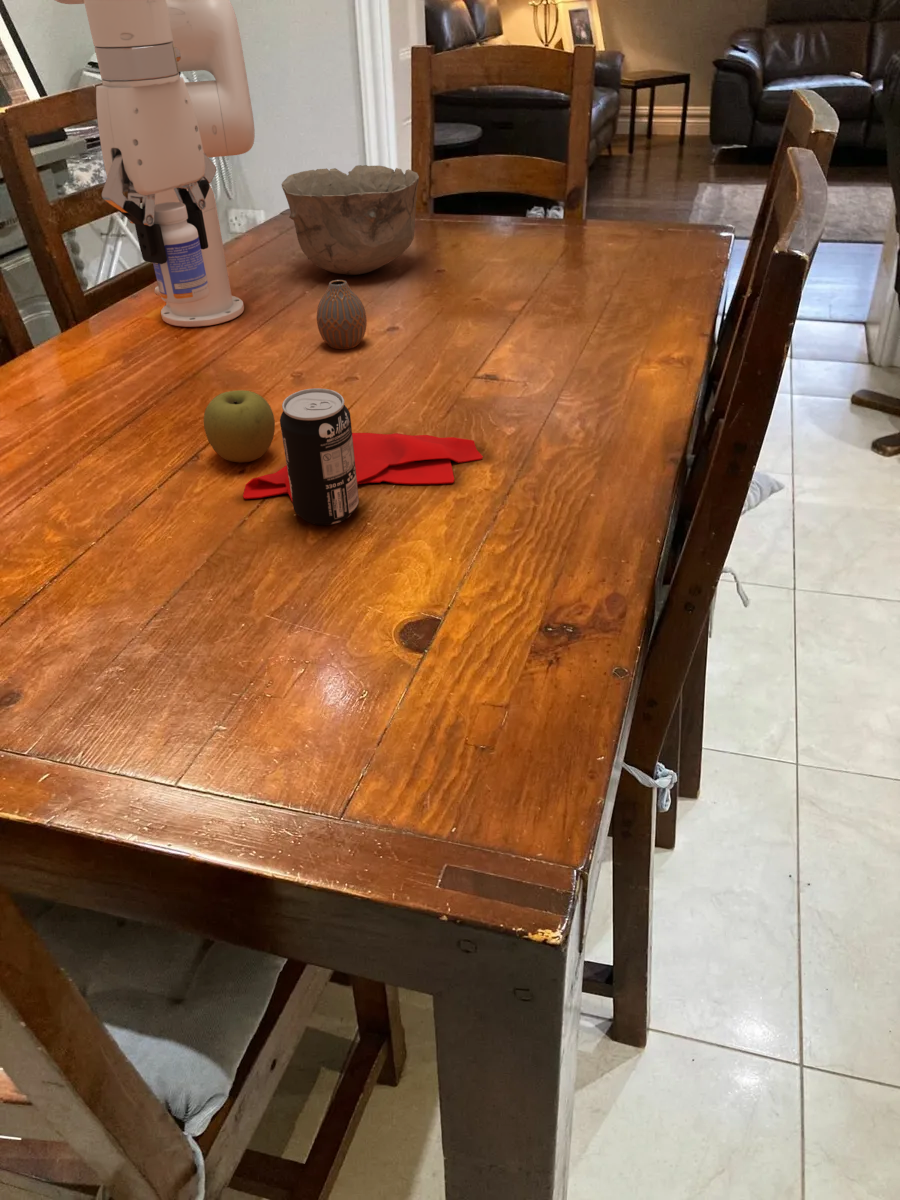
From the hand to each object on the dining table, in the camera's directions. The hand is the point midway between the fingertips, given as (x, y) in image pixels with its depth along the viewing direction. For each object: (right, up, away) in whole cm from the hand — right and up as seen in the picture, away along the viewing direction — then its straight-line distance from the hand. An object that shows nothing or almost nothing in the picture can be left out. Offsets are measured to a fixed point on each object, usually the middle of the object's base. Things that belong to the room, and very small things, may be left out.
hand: (176, 252), depth 103 cm
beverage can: (+18, -29, -8) cm, 35 cm away
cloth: (+21, -23, 0) cm, 31 cm away
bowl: (+14, +19, +59) cm, 63 cm away
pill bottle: (0, -4, +3) cm, 5 cm away
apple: (+7, -22, +3) cm, 23 cm away
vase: (+15, -2, +30) cm, 34 cm away
